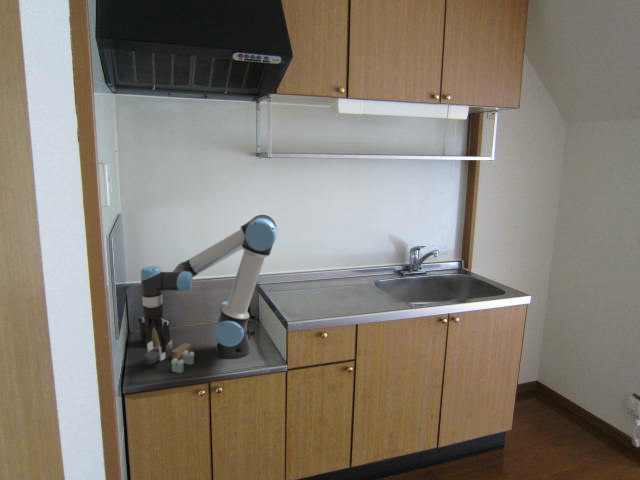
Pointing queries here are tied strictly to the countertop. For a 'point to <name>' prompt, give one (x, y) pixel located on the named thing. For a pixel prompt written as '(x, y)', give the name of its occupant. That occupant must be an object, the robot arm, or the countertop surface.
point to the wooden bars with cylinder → (178, 350)
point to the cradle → (182, 361)
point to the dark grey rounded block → (154, 355)
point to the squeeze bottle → (154, 337)
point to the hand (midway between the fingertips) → (156, 358)
